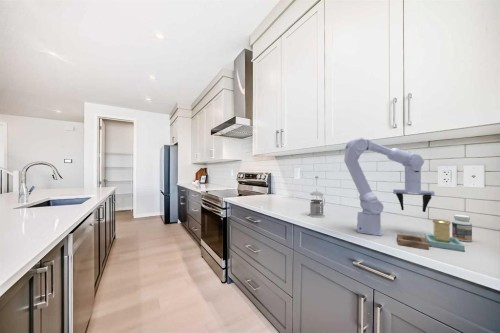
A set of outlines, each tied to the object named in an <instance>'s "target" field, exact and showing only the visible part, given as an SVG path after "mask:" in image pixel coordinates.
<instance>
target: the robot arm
mask: <svg viewBox="0 0 500 333" xmlns="http://www.w3.org/2000/svg"><path fill="white" fill-rule="evenodd" d="M344 150H345V152H344V158H343V159H344V163H345V166H346V168H347V170H348V172H349V174H350V176H351V178H352V179H351V180H353V183H354V185H355V187H356V190H357V192H358V193H359V197H358V198H359V201H360V203H359V204H360V207H361V209H362V211H361V212H360V211H358V212H357V221H356V222H357V223H356V227H357V233H360V234H368V235H375V236H381V237H382V235H383V234H382V232H383V231H382V229H381V228H382V227H381V226H382V224H381V221H382V220H381V213H382V212H383V210H384V204H383V202H382V201H380V200H379V198H378V197H377V195H376V194H375V193H374V192H373V191H372V189H371V186H370V184H369V182H368V179H367V178H366V176H365V174H364V171H363V169H362V166H361V165H360V163H359V159H360V157H361V155H362V154H363V153H364V152H365V151H371V152H373V153H374V152H375V153H377V154H381V155H384V156H386V157H387V159H389V161H390V160H391V161H392V162H396V163H399V164H401V165H402V166H403V167H404V189H393V190H392V193H393V195H396V198H397V199H398V201H399V204H400V208H401V211H404V210H405V209H404V208H405V207H404V195H412V196H422V212H423V213H426V211H427V207H428V204H429V203H430V201H431V200H432V197H435V191H434V190H423V189H422V176H421V175H422V174H421V173H422V167H423V165H424V163H425V160H424V159H423V156H421V155H420V154H417V153H415V154H413V153H412V152H411V151H405V150H402V148H401V147H393V148H389V147H387V146H384V145H382V144H379V143H377V142H375V141H372V140H371V139H366V138H363V137H358V138H356V139H353V140H350V141H348V142H347V144H346V145H345V147H344Z"/></svg>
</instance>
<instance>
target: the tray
mask: <svg viewBox="0 0 500 333" xmlns="http://www.w3.org/2000/svg"><path fill="white" fill-rule="evenodd" d="M424 237H425V239H426V240H427V242H428V244H429V247H432V248H436V249H437V248H438V249H439V248H440V249H446V250H452V251H458V252H465V249H466V248H465V245H464V244H463V243H462V241H459V240H458V239H457V238H453V237H450V243H444V242H437V241H434V234H427V233H425V234H424Z"/></svg>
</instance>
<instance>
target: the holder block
mask: <svg viewBox="0 0 500 333" xmlns="http://www.w3.org/2000/svg"><path fill="white" fill-rule="evenodd" d="M396 239H397V245H398V246H402V247H407V248H409V247H410V248H414V249H415V248H416V249H420V250H421V249H422V250H426V251H427V250H430V246H429V244H428V242H427V240H426V239H425V236H417V235H416V236H415V235H409V234H403V233H397V234H396Z"/></svg>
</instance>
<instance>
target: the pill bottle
mask: <svg viewBox="0 0 500 333" xmlns="http://www.w3.org/2000/svg"><path fill="white" fill-rule="evenodd" d="M453 218H454V219H453V220H452V221H451V222H452V223H451V227H452V228H451V230H452V236H451V238H457V239H458V240H459V241H460V242H465V243H466V242H470V243H471V242H472V241H473V224H472V222H471V221H470V220H471V217H470V216H469V215H465V214H454V215H453Z"/></svg>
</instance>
